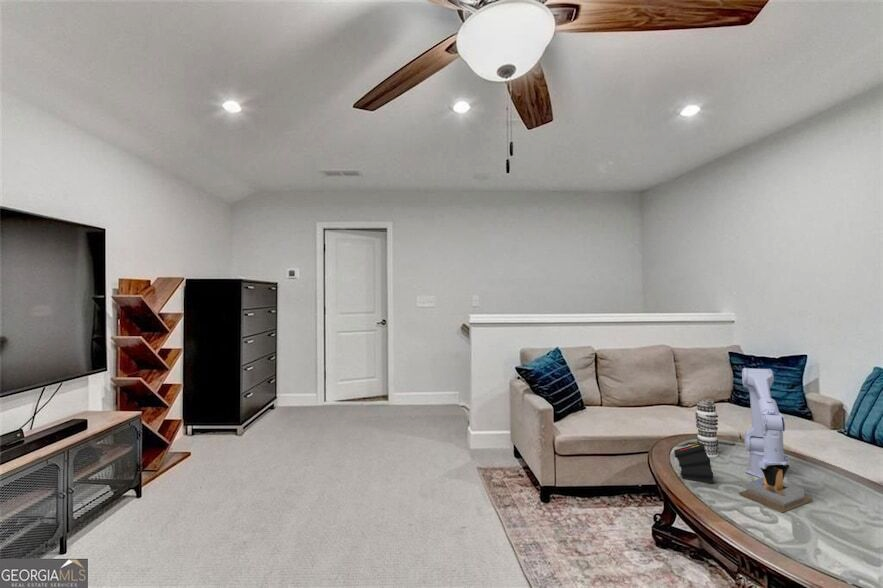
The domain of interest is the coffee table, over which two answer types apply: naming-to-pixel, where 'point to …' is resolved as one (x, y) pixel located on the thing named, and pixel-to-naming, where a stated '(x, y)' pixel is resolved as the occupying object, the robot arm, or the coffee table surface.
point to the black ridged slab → (694, 463)
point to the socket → (775, 495)
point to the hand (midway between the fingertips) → (774, 483)
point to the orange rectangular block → (778, 482)
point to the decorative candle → (707, 426)
